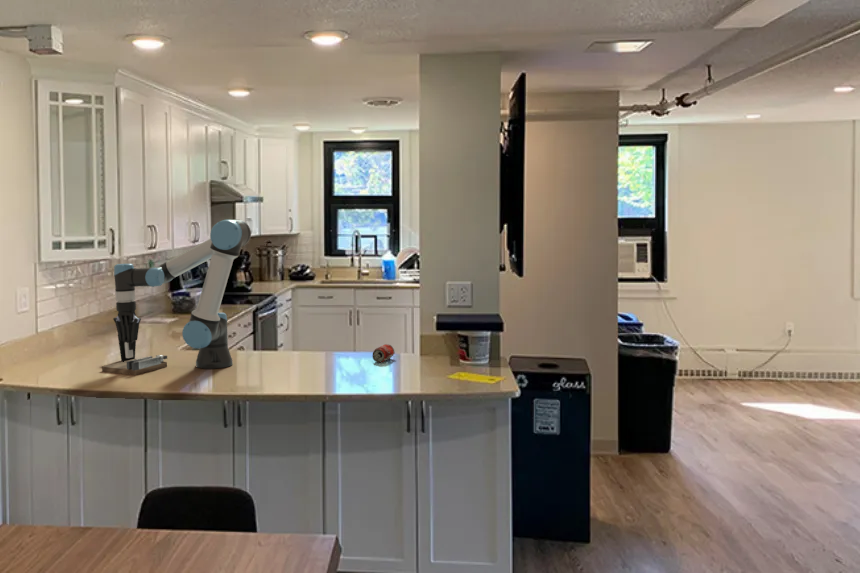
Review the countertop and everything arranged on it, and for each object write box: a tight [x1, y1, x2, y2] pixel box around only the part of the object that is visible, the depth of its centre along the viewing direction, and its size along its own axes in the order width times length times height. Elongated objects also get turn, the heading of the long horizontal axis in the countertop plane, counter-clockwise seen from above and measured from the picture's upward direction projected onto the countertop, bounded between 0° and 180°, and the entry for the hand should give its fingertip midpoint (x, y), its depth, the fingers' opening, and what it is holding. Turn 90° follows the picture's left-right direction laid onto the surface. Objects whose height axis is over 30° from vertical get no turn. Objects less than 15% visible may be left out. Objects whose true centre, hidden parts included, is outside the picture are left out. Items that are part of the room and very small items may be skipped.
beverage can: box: [371, 343, 395, 364], centre depth 333 cm, size 7×12×7 cm, turn 164°
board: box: [101, 358, 168, 376], centre depth 318 cm, size 18×18×2 cm
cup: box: [117, 335, 137, 362], centre depth 336 cm, size 8×8×12 cm
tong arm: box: [127, 355, 153, 369], centre depth 313 cm, size 1×13×3 cm, turn 156°
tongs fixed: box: [132, 354, 168, 370], centre depth 315 cm, size 4×20×3 cm, turn 156°
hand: (129, 357), depth 313 cm, fingers closed
